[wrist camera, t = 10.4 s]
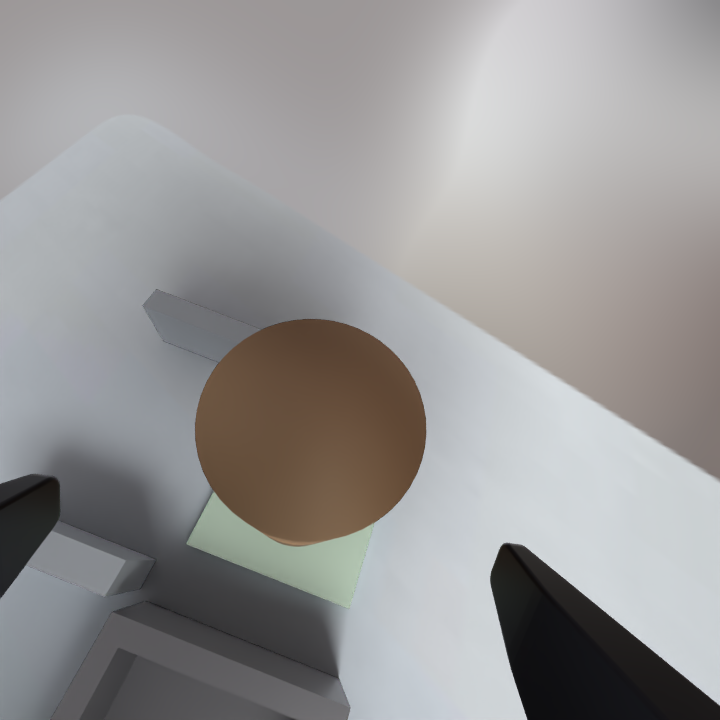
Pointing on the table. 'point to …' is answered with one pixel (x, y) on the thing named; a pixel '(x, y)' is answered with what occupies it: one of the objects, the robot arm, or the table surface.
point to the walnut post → (310, 430)
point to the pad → (284, 554)
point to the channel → (97, 555)
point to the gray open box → (192, 675)
